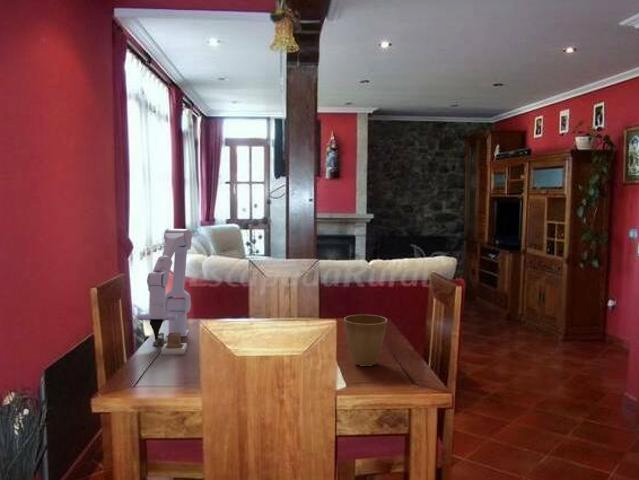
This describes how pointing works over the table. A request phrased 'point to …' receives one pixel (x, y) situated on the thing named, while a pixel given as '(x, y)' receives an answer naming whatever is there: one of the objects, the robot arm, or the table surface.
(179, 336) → the block
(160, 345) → the crank base
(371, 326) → the plant pot
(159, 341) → the crank
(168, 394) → the table surface
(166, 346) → the tray
